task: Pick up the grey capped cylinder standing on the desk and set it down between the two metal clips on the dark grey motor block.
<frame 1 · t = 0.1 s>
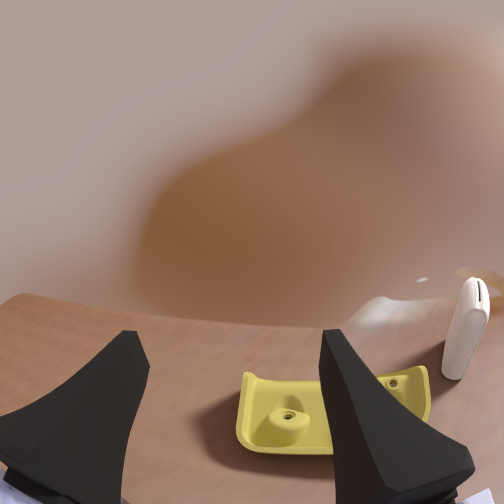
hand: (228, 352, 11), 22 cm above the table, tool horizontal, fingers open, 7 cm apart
plastic component: (328, 427, 29), on the table
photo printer: (453, 359, 35), on the table
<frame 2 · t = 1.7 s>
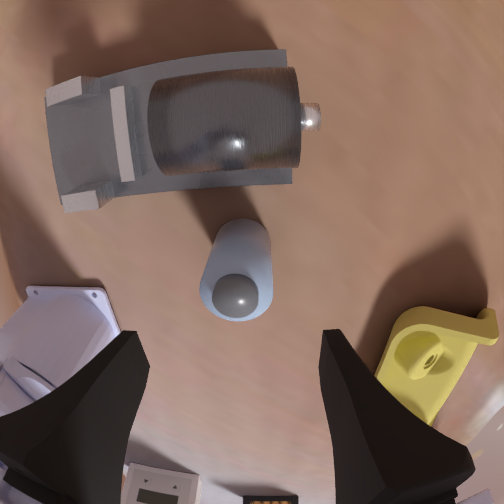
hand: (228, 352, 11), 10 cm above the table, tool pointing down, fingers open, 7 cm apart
plastic component: (406, 373, 26), on the table
ammunition clip: (270, 496, 44), on the table
grey capped cylinder: (242, 244, 20), on the table
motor: (166, 125, 16), on the table
thermostat: (171, 480, 42), on the table
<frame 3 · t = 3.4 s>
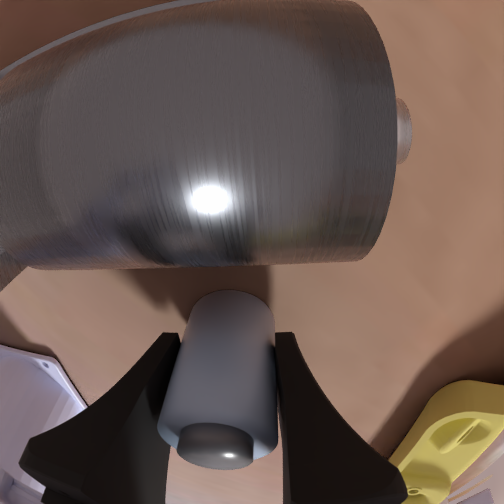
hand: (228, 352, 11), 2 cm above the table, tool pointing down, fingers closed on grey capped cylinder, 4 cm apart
plastic component: (433, 435, 19), on the table
grey capped cylinder: (231, 325, 13), on the table, touching gripper
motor: (100, 140, 9), on the table
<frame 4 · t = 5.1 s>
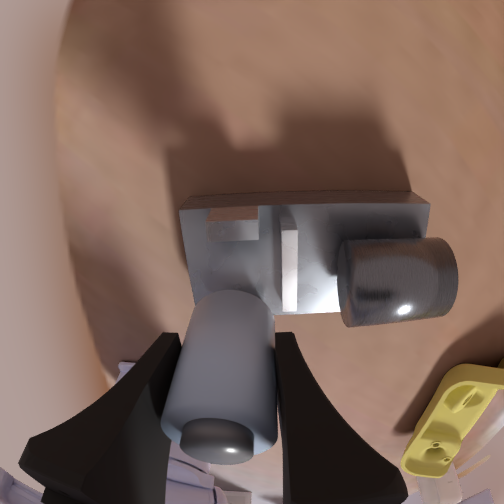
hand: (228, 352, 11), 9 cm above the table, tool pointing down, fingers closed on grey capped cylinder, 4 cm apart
plastic component: (446, 404, 29), on the table
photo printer: (432, 458, 37), on the table
grey capped cylinder: (232, 324, 13), point 7 cm above the table, touching gripper
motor: (306, 244, 19), on the table
thermostat: (220, 497, 45), on the table
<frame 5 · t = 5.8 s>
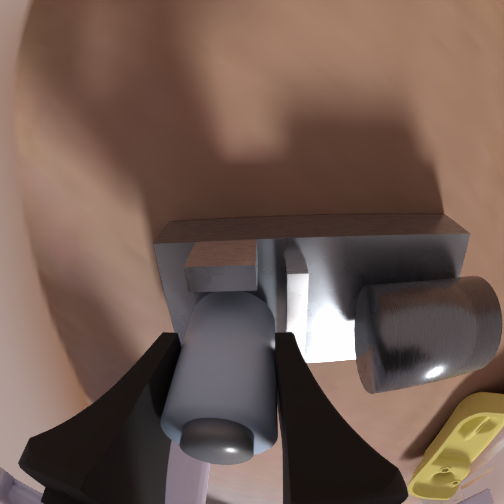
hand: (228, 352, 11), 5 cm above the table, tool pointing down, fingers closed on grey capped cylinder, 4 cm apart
plastic component: (457, 428, 25), on the table
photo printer: (437, 475, 34), on the table
grey capped cylinder: (232, 324, 13), point 3 cm above the table, touching gripper
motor: (315, 279, 15), on the table
when the fingers open (5 cm above the table, at t = 6.6 s): grey capped cylinder stays where it is, resting on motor.
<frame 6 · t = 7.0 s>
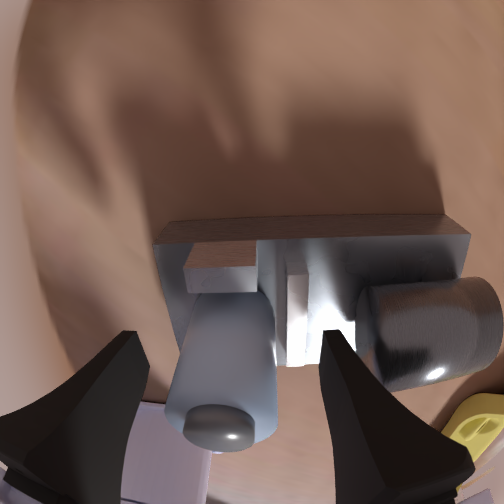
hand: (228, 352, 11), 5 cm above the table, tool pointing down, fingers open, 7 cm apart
plastic component: (458, 428, 25), on the table
grey capped cylinder: (234, 316, 13), point 2 cm above the table, touching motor
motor: (316, 280, 15), on the table
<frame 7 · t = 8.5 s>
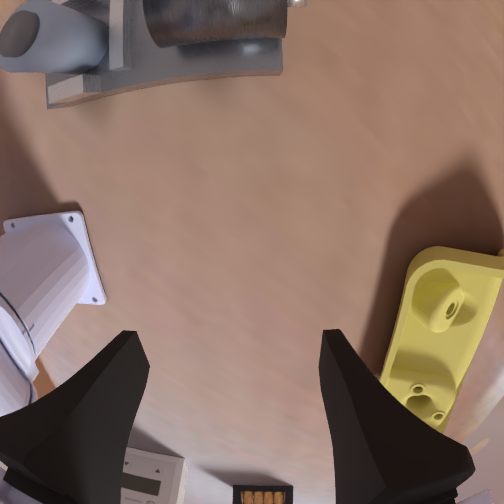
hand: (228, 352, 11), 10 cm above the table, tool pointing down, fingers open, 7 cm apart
plastic component: (427, 331, 24), on the table
ammunition clip: (263, 486, 42), on the table
grey capped cylinder: (83, 45, 12), point 2 cm above the table, touching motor
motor: (159, 33, 14), on the table
thermostat: (155, 466, 39), on the table
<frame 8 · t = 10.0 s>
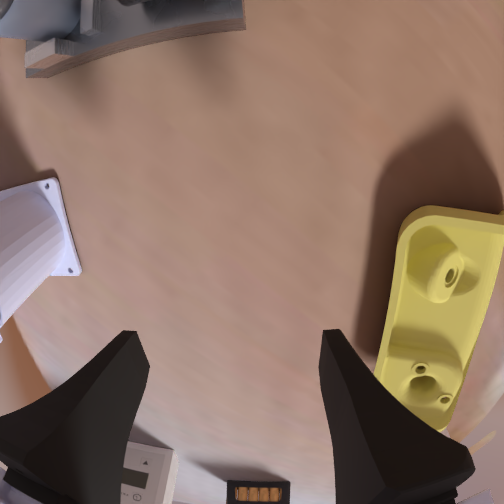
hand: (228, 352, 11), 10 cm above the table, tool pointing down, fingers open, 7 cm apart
plastic component: (427, 305, 22), on the table
ammunition clip: (258, 482, 40), on the table
grey capped cylinder: (59, 17, 11), point 2 cm above the table, touching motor
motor: (131, 3, 13), on the table
thermostat: (146, 459, 38), on the table
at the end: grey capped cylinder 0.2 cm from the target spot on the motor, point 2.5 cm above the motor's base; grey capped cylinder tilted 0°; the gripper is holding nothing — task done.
